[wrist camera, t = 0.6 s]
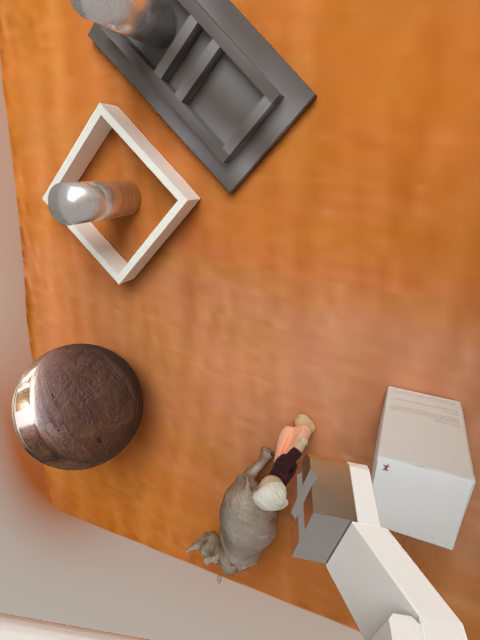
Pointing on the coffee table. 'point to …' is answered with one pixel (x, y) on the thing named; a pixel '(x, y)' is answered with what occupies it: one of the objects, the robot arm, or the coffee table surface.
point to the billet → (93, 201)
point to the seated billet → (133, 18)
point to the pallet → (214, 85)
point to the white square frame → (187, 198)
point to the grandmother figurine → (284, 464)
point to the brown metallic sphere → (76, 406)
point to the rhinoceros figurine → (240, 525)
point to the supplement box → (422, 467)
